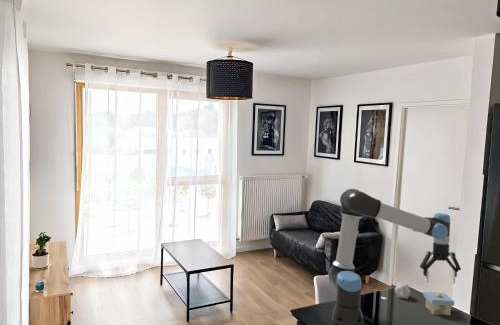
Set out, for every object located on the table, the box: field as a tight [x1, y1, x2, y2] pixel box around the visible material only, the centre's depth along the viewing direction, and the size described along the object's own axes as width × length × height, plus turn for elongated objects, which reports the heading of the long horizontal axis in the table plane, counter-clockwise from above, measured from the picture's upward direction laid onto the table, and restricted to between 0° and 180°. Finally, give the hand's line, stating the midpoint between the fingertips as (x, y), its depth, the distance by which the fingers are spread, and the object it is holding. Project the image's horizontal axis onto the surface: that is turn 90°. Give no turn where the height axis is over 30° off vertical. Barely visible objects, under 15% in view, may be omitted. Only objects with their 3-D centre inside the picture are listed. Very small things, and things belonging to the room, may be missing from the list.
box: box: [425, 298, 452, 316], centre depth 194 cm, size 9×9×6 cm
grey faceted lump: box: [394, 282, 412, 300], centre depth 211 cm, size 8×9×10 cm
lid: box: [423, 291, 455, 307], centre depth 194 cm, size 11×11×4 cm
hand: (439, 282), depth 193 cm, fingers open, 13 cm apart
